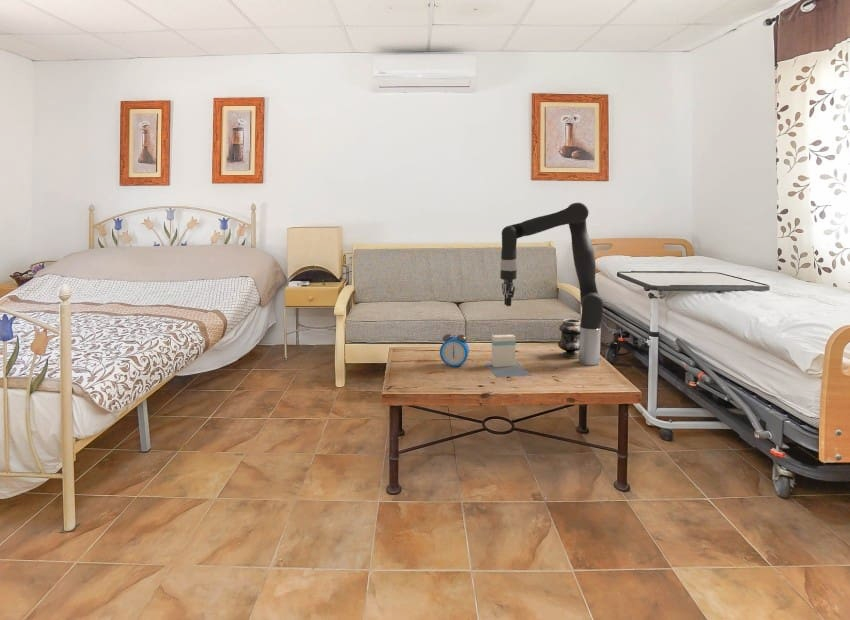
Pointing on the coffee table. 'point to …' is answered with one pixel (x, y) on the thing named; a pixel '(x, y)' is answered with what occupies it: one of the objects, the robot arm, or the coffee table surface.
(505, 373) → the mat
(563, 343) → the apothecary jar
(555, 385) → the coffee table surface
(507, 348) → the box
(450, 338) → the alarm clock
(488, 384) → the coffee table surface
